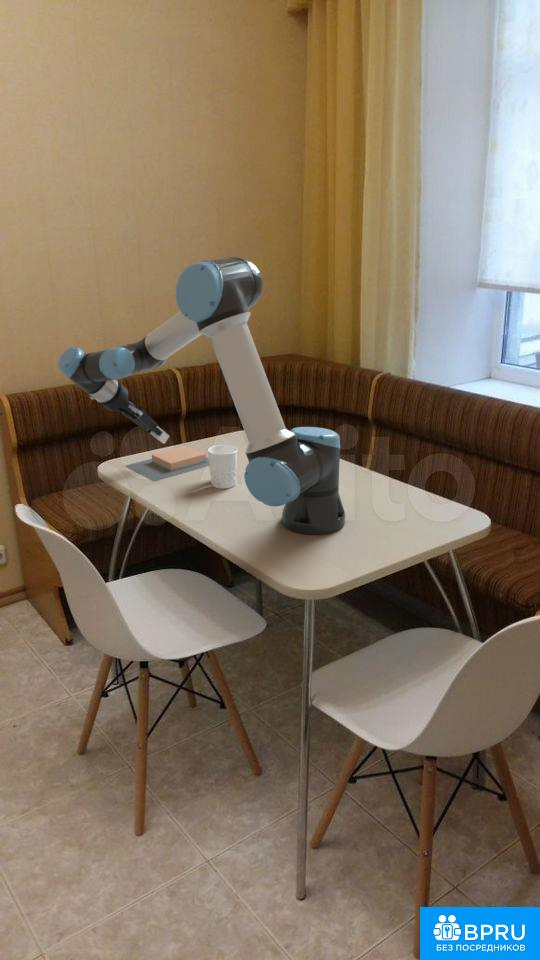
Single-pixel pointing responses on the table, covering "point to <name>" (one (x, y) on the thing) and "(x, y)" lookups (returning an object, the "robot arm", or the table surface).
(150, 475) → the mat
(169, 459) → the tile
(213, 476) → the white cup
